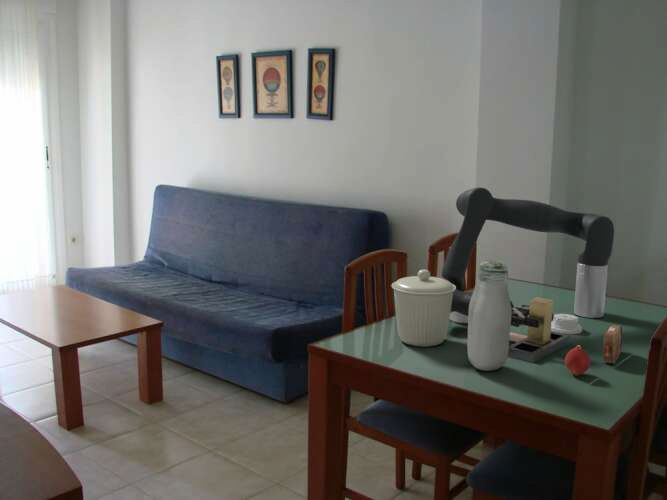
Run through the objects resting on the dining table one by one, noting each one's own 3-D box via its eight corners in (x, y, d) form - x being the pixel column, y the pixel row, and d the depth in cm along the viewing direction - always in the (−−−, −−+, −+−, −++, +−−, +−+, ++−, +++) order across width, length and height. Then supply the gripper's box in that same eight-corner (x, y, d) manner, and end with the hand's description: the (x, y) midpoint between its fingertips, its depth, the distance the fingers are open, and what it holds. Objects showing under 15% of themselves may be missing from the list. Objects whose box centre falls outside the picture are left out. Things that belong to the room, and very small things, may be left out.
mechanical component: (549, 334, 192) (584, 336, 190) (550, 320, 191) (585, 322, 189) (545, 324, 202) (578, 326, 200) (546, 311, 201) (579, 313, 199)
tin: (613, 368, 164) (615, 337, 162) (600, 366, 165) (602, 334, 164) (622, 352, 176) (624, 322, 175) (609, 349, 178) (612, 320, 176)
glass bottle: (483, 378, 156) (488, 266, 151) (459, 364, 166) (463, 258, 161) (515, 372, 160) (522, 263, 155) (490, 359, 169) (495, 255, 164)
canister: (416, 328, 197) (418, 260, 193) (466, 341, 184) (469, 270, 180) (377, 341, 184) (378, 269, 180) (427, 356, 172) (430, 280, 168)
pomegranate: (560, 371, 161) (562, 341, 160) (582, 371, 162) (584, 340, 160) (570, 380, 156) (572, 348, 154) (593, 379, 156) (595, 348, 155)
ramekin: (478, 315, 211) (479, 299, 210) (483, 325, 200) (483, 308, 199) (444, 314, 212) (444, 298, 211) (446, 324, 201) (447, 308, 200)
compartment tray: (533, 363, 167) (533, 354, 166) (505, 356, 172) (505, 347, 172) (569, 344, 182) (569, 335, 182) (542, 337, 188) (543, 329, 187)
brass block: (526, 349, 177) (529, 300, 175) (534, 345, 180) (537, 297, 178) (542, 352, 174) (545, 303, 172) (549, 349, 177) (552, 299, 175)
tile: (499, 338, 187) (499, 337, 187) (511, 333, 192) (511, 332, 192) (521, 344, 182) (521, 342, 182) (533, 338, 187) (533, 337, 187)
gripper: (480, 301, 180) (534, 312, 169) (505, 292, 190) (558, 302, 179) (479, 327, 181) (533, 339, 170) (504, 316, 191) (556, 328, 180)
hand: (546, 320), depth 174 cm, fingers open, 8 cm apart
